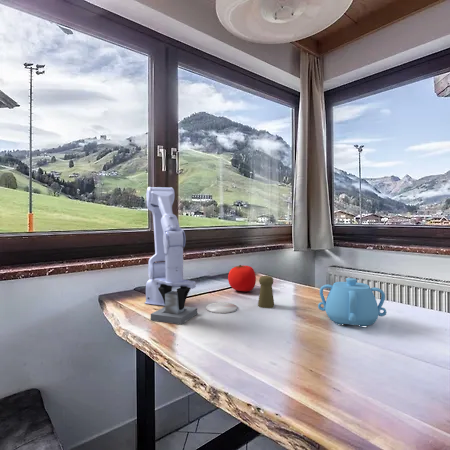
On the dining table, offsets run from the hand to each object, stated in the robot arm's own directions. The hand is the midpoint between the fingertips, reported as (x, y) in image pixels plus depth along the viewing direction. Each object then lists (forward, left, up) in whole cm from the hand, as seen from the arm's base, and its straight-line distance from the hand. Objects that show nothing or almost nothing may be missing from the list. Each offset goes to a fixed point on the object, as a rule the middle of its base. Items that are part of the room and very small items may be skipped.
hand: (174, 308), depth 105 cm
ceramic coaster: (+11, +14, -3) cm, 18 cm away
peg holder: (0, 0, -3) cm, 3 cm away
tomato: (+10, +41, -3) cm, 42 cm away
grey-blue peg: (0, 0, -3) cm, 3 cm away
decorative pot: (+54, +16, -3) cm, 56 cm away
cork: (+25, +23, -3) cm, 34 cm away
